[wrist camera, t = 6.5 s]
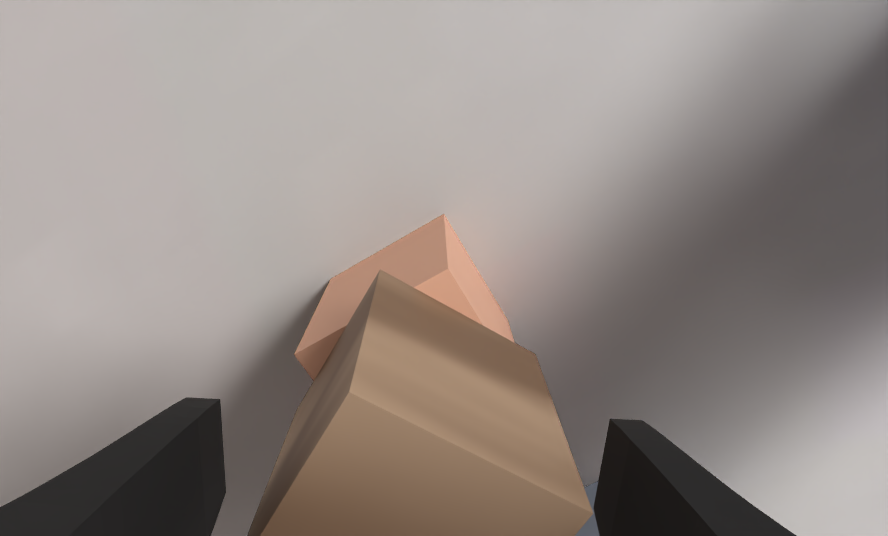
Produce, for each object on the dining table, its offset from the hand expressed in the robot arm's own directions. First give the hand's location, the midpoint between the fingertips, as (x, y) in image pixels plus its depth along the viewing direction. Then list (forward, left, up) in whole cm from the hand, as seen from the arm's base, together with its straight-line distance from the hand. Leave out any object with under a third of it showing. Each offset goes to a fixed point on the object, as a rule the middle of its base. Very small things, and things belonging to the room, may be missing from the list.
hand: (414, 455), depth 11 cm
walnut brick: (0, 0, -3) cm, 3 cm away
